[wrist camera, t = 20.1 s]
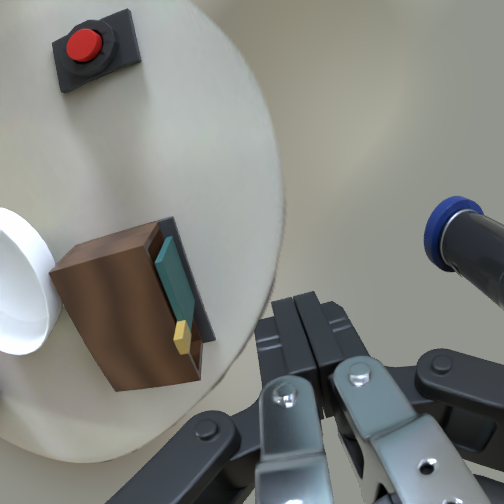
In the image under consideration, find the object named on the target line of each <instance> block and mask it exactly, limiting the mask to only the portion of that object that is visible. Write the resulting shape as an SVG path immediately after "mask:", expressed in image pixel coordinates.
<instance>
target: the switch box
mask: <svg viewBox="0 0 504 504" xmlns="http://www.w3.org/2000/svg"><path fill="white" fill-rule="evenodd" d="M82 29H90V30H92V31H94V32H95V33H97V34H98V35H99V36H100V37H101V39H102V47H101V50H100V52H99V53H98V55H97V56H96V57H95V58H94V59H92V60H90V61H88V62H80V61H77V60H74V59H72V58H70V57H69V55H68V53H67V44H68V41H69V39H70V38H71V37H72V35H73V34H75V33H76V32H77V31H79V30H82ZM52 46H53V53H54V59H55V64H56V70H57V75H58V80H59V85H60V90H61V93H66V92H69V91H71V90H73V89H75V88H77V87H79V86H81V85H83V84H86V83H88V82H90V81H92V80H95V79H97V78H99V77H102V76H104V75H106V74H109V73H111V72H114V71H116V70H119V69H121V68H124V67H127V66H129V65H132V64H135V63H138V62H140V61H141V57H140V52H139V48H138V44H137V39H136V35H135V30H134V25H133V21H132V16H131V11H130V10H129V9H125V10H122V11H120V12H117V13H114V14H112V15H110V16H107V17H105V18H102V19H100V20H87V21H85V22H83V23H81V24H79V25H77V26H75V27H74V28H73V29H72V30H71V31H70V33H69V34H68V35H66V36H64V37H62V38H60V39H58V40H57V41H55V42H53V43H52Z"/></svg>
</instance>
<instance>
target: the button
mask: <svg viewBox="0 0 504 504" xmlns="http://www.w3.org/2000/svg"><path fill="white" fill-rule="evenodd" d="M101 47H102V39H101V37H100V36H99V35H98V34H97V33H95V32H94V31H92V30H90V29H82V30H79V31H77V32H76V33H75V34H73V35H72V37H71V38H70V39H69V41H68V44H67V53H68V55H69V57H70V58H72V59H74V60H77V61H80V62H88V61H90V60H92V59H94V58H95V57H96V56H97V55H98V53H99V52H100V50H101Z"/></svg>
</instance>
